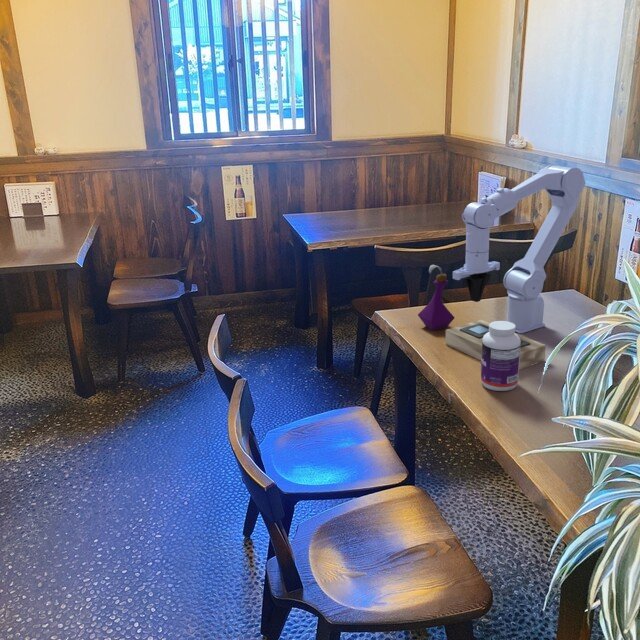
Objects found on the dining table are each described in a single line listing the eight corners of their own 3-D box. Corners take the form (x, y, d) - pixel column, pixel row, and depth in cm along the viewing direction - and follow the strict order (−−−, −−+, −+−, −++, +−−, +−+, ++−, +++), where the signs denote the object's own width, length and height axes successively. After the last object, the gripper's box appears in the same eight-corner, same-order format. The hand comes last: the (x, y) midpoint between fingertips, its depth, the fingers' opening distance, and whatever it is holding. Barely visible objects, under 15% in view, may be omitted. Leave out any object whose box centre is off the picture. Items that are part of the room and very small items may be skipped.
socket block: (479, 333, 168) (480, 318, 166) (544, 360, 150) (545, 343, 148) (445, 344, 162) (445, 328, 161) (508, 373, 144) (509, 356, 143)
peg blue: (479, 340, 162) (479, 325, 161) (490, 345, 159) (491, 330, 158) (467, 344, 161) (468, 329, 159) (478, 349, 157) (479, 333, 156)
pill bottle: (483, 375, 144) (485, 317, 139) (519, 379, 141) (523, 320, 136) (478, 390, 137) (480, 330, 132) (516, 395, 134) (519, 333, 129)
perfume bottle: (439, 320, 178) (440, 259, 172) (454, 328, 172) (456, 266, 166) (417, 325, 176) (417, 264, 170) (431, 333, 169) (432, 270, 163)
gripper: (486, 242, 165) (485, 291, 170) (444, 252, 158) (444, 302, 163) (506, 247, 159) (504, 297, 164) (464, 257, 153) (462, 309, 157)
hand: (475, 300), depth 163 cm, fingers closed
